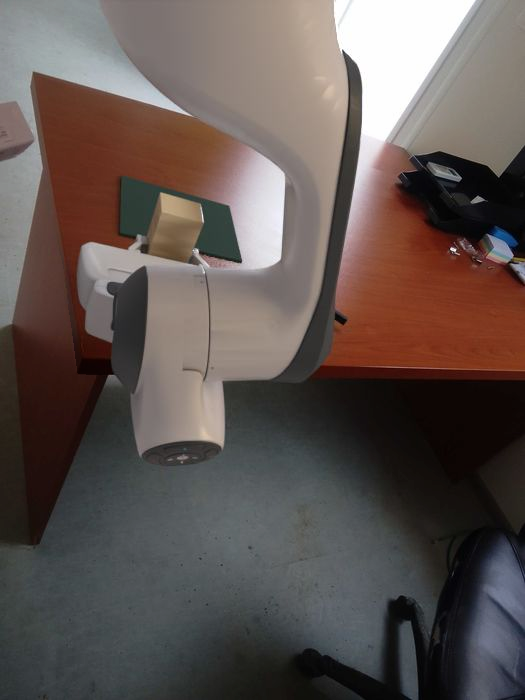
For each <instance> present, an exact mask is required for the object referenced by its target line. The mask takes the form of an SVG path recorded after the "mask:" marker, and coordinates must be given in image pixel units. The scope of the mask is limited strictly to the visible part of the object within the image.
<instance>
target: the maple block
mask: <svg viewBox="0 0 525 700" xmlns="http://www.w3.org/2000/svg"><path fill="white" fill-rule="evenodd" d="M203 224H204V221H203V215H202V209H201V204H200V203H196V202H193V201H189V200H186V199H182V198H179V197H175V196H172V195H168V194H165V193H161V192H160V195H159V198H158V201H157V204H156V208H155V211H154V214H153V218H152V221H151V224H150V228H149V231H148V234H147V237H149V246H148V249H147V253H146V254H147V255H152V256H156V257H160V258H165V259H169V260H174V261H178V262H183V263H187V264H188V261H189V259H190V256H191V254H192V251H193V249H194V246H195V244H196V241H197V239H198V236H199V234H200V231H201V229H202V226H203Z"/></svg>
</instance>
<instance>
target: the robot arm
mask: <svg viewBox="0 0 525 700" xmlns="http://www.w3.org/2000/svg"><path fill="white" fill-rule="evenodd" d="M98 1H99V5H100V8H101V11H102V14H103V16H104V19H105V20H106V23H107V25H108V27H109V30H110V31H111V33H112V34H113V37H114V38H115V40H116V42H117V44H118V45H119V47H120V48H121V49H122V51H123V53H124V54H125V55H126V57H127V58H128V60H129V62H131V64H132V65H133V66H134V67H135V68H136V70H137V71H138V72H139V73H140V74H141V75H142V77H143V78H145V80H147V81H148V82H149V83H150V84H151V85H152V86H153V87H154V88H155V89H156V90H157V91H158V92H160V93H161V94H162V95H163V96H164V97H165V98H166V99H168V100H169V101H170V102H172V103H173V104H174V105H176V106H177V107H178V108H179V109H181V110H182V111H184V112H186V113H187V114H188V115H190V116H192V117H193V118H195V119H196V120H198V121H200V122H202V123H203V124H205V125H207V126H208V127H211V128H213V129H214V130H217V131H219V132H221V133H222V134H224V135H226V136H229V137H231V138H232V139H234V140H236V141H238V142H239V143H241V144H243V145H245V146H247V147H249V148H250V149H252V150H253V151H254V152H257V153H258V154H259V155H261V156H263V157H264V158H266V159H267V160H268V161H269V162H271V163H272V164H273V165H275V166H276V167H277V168H278V169H279V170H281V172H282V173H283V175H284V198H283V199H284V200H283V213H282V214H283V215H282V216H283V217H282V236H281V250H280V251H281V252H280V259H279V260H278V261H276V263H275V262H274V264H272V265H268V266H266V267H260V268H235V267H234V268H231V267H210V265H209V264H208V262H206V260H204V259H203V257H201V256H200V254H199V251H198V249H196V248H194V249H193V251H192V254H191V256H190V259H189V261H188V264H187V263H183V262H178V261H174V260H169V259H165V258H160V257H156V256H152V255H147V254H146V253H147V249H148V246H149V237H146V236H142V235H138V234H137V236H136V239H134V243H133V244H131V245H130V246H128V247H127V249H124V248H121V247H120V248H119V247H116V246H112V245H107V244H102V243H99V242H94V241H89V242H86V243H84V244H82V245H81V247H80V250H79V254H78V260H77V267H76V289H77V296H78V301H79V304H80V305H81V307H82V308H83V310H84V311H85V317H84V330H85V332H86V333H87V334H89V335H91V336H92V337H95V338H97V339H100V340H103V341H105V342H108V343H110V344H111V349H110V364H111V369H112V372H113V375H114V377H116V378H117V380H118V381H119V383H120V384H121V385H122V386H123V387H124V388H125V390H127V392H129V394H130V411H131V420H132V427H133V428H132V429H133V435H134V441H135V444H136V449H137V453H138V456H139V457H140V459H142V460H143V461H144V462H147V463H149V464H151V465H155V466H161V467H178V466H179V467H180V466H189V465H191V466H192V465H197V464H200V463H204V462H207V461H209V460H212V459H213V458H215V457H216V456H218V455H220V454H221V452H222V451H223V450H224V446H225V437H226V410H225V409H226V408H225V407H226V406H225V396H224V395H225V393H224V384H223V382H236V381H237V382H241V381H262V382H269V383H270V382H273V383H289V384H300V383H303V382H304V381H307V379H309V377H311V376H312V375H313V374H314V373H315V372H316V371H317V370H318V369H320V367H321V366H322V365H323V364H324V362H326V360H327V359H328V357H329V356H330V353H331V351H332V347H333V343H334V336H335V335H334V334H335V321H336V320H335V310H336V296H337V288H338V282H339V276H340V270H341V265H342V258H343V253H344V248H345V241H346V236H347V230H348V226H349V219H350V213H351V207H352V203H353V196H354V189H355V183H356V177H357V172H358V165H359V157H360V150H361V142H362V135H363V133H362V131H363V119H364V92H363V91H364V90H363V81H362V74H361V71H360V67H359V66H358V64H357V62H356V60H355V59H353V57H352V56H351V55H350V54H349V53H348V52H347V51H346V50H345V49H344V48H343V46H342V45H341V41H340V38H339V30H338V25H337V24H338V23H337V15H336V13H337V12H336V0H98Z"/></svg>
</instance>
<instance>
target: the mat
mask: <svg viewBox="0 0 525 700" xmlns="http://www.w3.org/2000/svg"><path fill="white" fill-rule="evenodd" d="M160 192H161V193H165V194H168V195H172V196H175V197H179V198H182V199H186V200H189V201H193V202H196V203H200V204H201V209H202V215H203V221H204V224H203V226H202V229H201V231H200V234H199V236H198V239H197V241H196V244H195V246H194V248H196V249H198V251H199V255H203V256H208V257H212V258H217V259H221V260H226V261H230V262H234V263H239V264H242V263H243V258H242V254H241V249H240V246H239V241H238V237H237V232H236V228H235V223H234V219H233V215H232V212H231V206H230V205H228V204H225V203H222V202H218V201H214V200H211V199H207V198H205V197H204V198H203V197H201V196H198V195H197V196H196V195H194V194H189V193H186V192H183V191H179V190H175V189H172V188H169V187H165V186H161V185H158V184H154V183H151V182H146V181H144V180H140V179H138V178H137V179H136V178H133V177H130V176H126V175H123V174H121V175H120V191H119V193H120V194H119V225H118V226H119V229H118V235H119V236H121V237H125V238H130V239H133V240H136V236H137V234H138V235H142V236H146V237H147V234H148V231H149V228H150V224H151V221H152V218H153V214H154V211H155V208H156V204H157V201H158V198H159V195H160Z"/></svg>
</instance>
